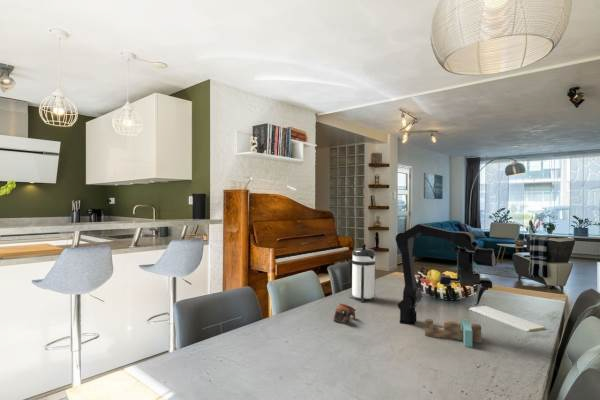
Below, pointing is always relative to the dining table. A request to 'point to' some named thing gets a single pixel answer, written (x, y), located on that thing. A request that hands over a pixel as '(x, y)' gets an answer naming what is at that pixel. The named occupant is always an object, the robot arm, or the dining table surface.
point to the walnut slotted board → (451, 330)
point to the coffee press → (362, 273)
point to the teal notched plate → (466, 332)
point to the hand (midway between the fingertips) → (464, 302)
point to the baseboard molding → (507, 318)
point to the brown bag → (346, 315)
